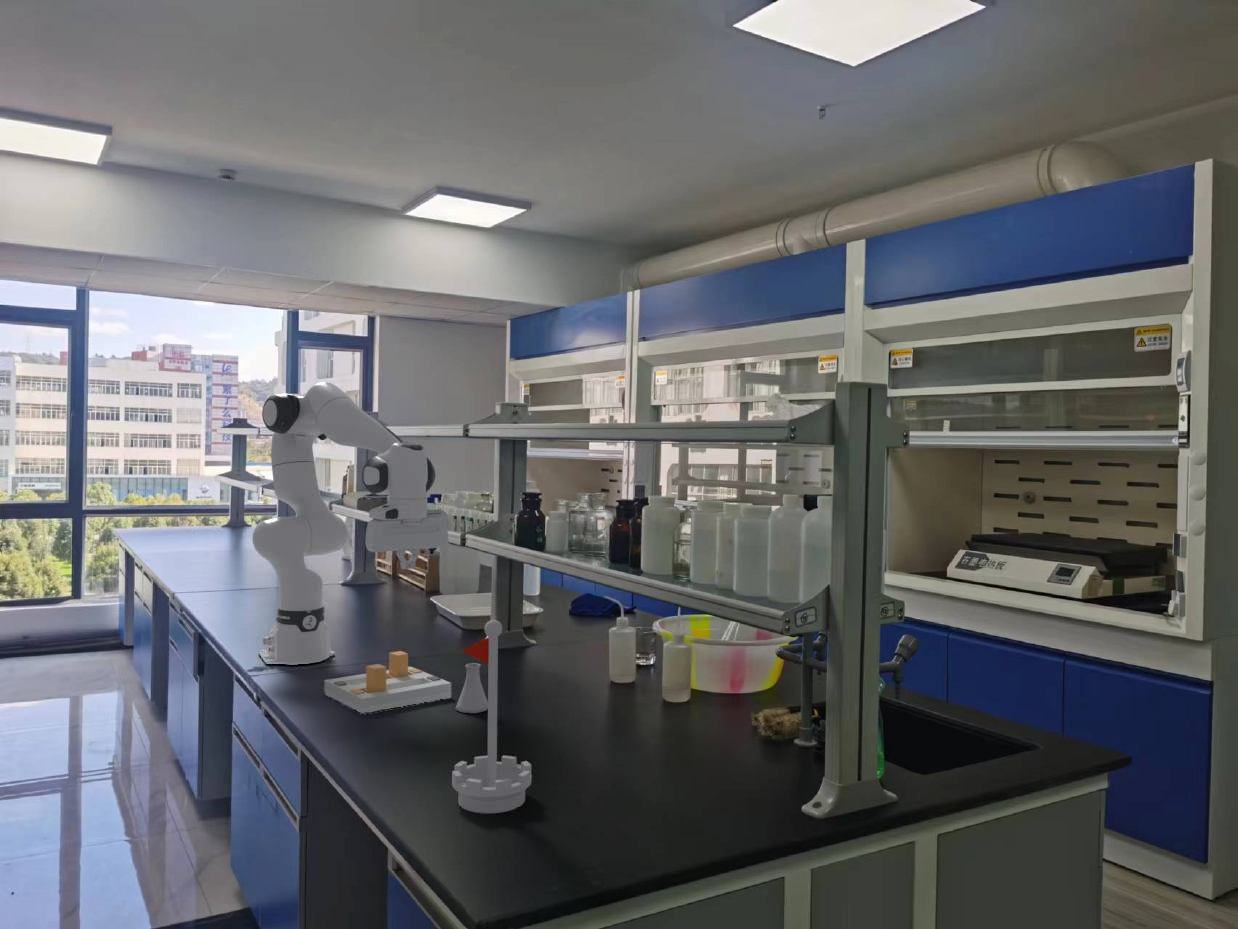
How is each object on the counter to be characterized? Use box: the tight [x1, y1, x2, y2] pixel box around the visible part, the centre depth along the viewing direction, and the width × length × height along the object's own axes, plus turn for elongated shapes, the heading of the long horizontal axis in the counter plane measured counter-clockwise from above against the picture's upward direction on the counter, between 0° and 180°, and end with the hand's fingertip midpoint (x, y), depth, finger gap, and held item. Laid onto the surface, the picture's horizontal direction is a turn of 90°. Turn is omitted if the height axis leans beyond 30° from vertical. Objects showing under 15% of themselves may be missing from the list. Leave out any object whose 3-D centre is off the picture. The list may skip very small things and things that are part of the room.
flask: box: [454, 662, 488, 714], centre depth 205 cm, size 7×7×10 cm
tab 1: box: [364, 663, 387, 693], centre depth 208 cm, size 4×4×7 cm
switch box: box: [323, 666, 452, 713], centre depth 215 cm, size 20×22×4 cm
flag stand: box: [451, 619, 532, 814], centre depth 153 cm, size 13×13×30 cm
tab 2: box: [387, 650, 409, 679], centre depth 221 cm, size 4×4×7 cm
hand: (407, 568), depth 219 cm, fingers closed
